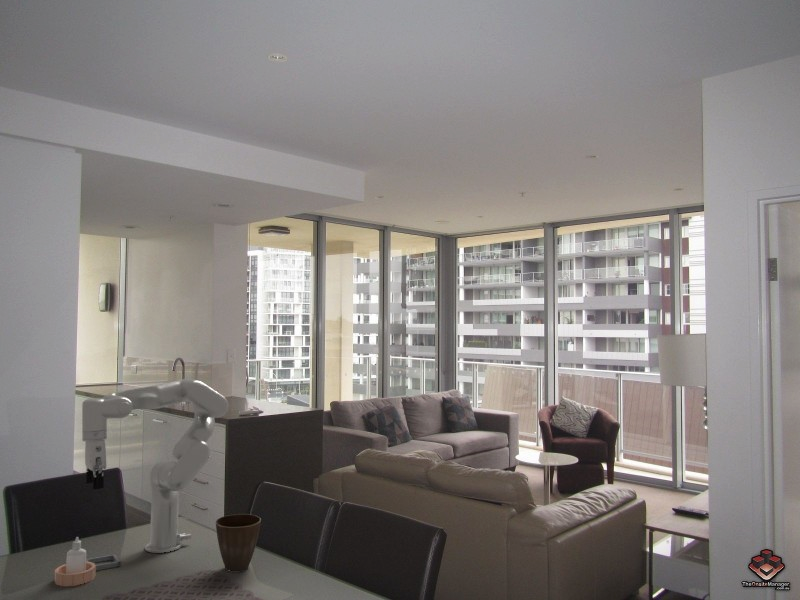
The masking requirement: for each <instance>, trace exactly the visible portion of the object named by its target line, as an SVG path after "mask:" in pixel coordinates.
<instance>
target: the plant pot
mask: <svg viewBox="0 0 800 600" xmlns="http://www.w3.org/2000/svg"><path fill="white" fill-rule="evenodd" d="M261 522H262V518H261V517H260V516H258V515H255V514H252V513H251V514H250V513H238V514H237V513H236V514H234V513H233V514H230V515H224V516H222V517H219V518H217V519H216V521H215V529H216V536H217V538H216V539H217V541H218V548H219V552H220V555H221V560H222V563H223V565H224V568H225V570H226V569H227V570H230V571H240V572H242V571H241V570H244V571H246V570H247V569H249V567H250V564H251V561H252V559H253V555H254V553H255V549H256V545H257V542H258V538H259V534H260V528H261ZM245 569H246V570H245ZM227 570H226V571H227ZM230 571H229V572H230Z"/></svg>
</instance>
